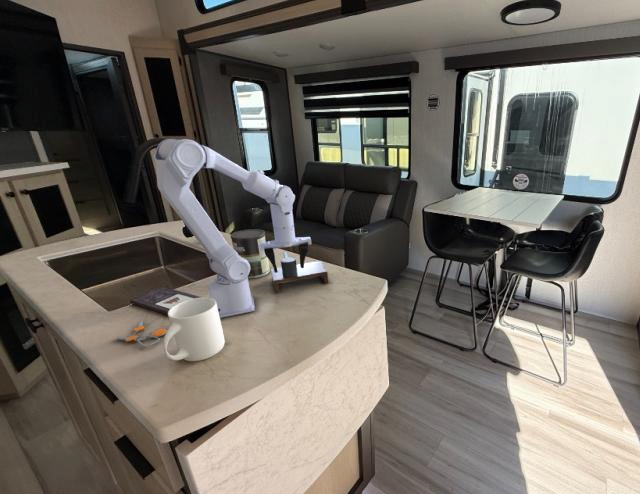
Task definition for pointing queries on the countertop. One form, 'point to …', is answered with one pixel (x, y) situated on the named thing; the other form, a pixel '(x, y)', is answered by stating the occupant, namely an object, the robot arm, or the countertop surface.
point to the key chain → (140, 338)
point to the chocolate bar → (162, 299)
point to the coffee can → (251, 251)
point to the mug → (195, 330)
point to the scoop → (288, 266)
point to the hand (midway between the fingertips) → (289, 269)
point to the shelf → (300, 273)
